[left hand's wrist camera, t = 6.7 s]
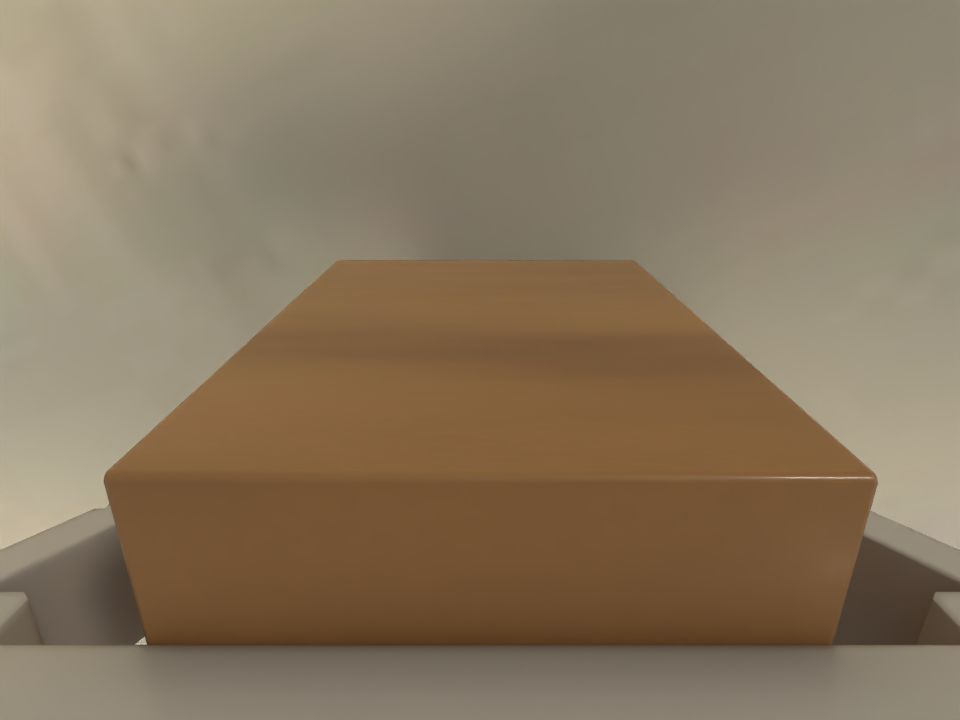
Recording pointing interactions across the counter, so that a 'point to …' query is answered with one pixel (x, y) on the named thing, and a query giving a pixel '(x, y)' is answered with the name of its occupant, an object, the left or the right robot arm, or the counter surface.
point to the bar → (489, 474)
